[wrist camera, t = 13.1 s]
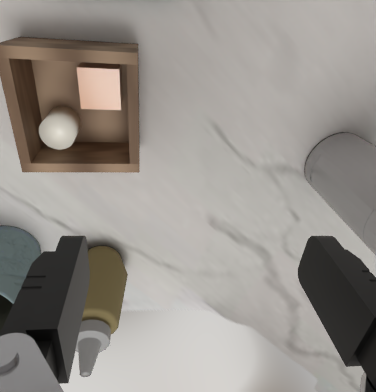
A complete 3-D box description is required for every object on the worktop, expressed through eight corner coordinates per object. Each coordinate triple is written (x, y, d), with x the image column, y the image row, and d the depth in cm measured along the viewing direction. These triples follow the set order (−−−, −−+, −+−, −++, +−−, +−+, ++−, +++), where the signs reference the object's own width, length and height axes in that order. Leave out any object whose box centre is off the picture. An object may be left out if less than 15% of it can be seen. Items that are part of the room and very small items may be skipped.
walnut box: (138, 44, 34) (137, 53, 28) (139, 147, 40) (139, 172, 34) (19, 36, 32) (-7, 44, 26) (40, 145, 38) (22, 172, 33)
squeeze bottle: (106, 284, 52) (92, 400, 37) (64, 261, 48) (30, 380, 33) (138, 256, 50) (138, 367, 35) (97, 230, 46) (76, 342, 31)
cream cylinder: (79, 106, 36) (72, 117, 32) (82, 136, 37) (76, 149, 34) (45, 105, 35) (35, 116, 32) (50, 135, 37) (42, 149, 34)
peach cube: (121, 62, 34) (119, 69, 30) (122, 99, 36) (121, 110, 32) (82, 60, 33) (76, 67, 30) (86, 98, 35) (81, 109, 32)
